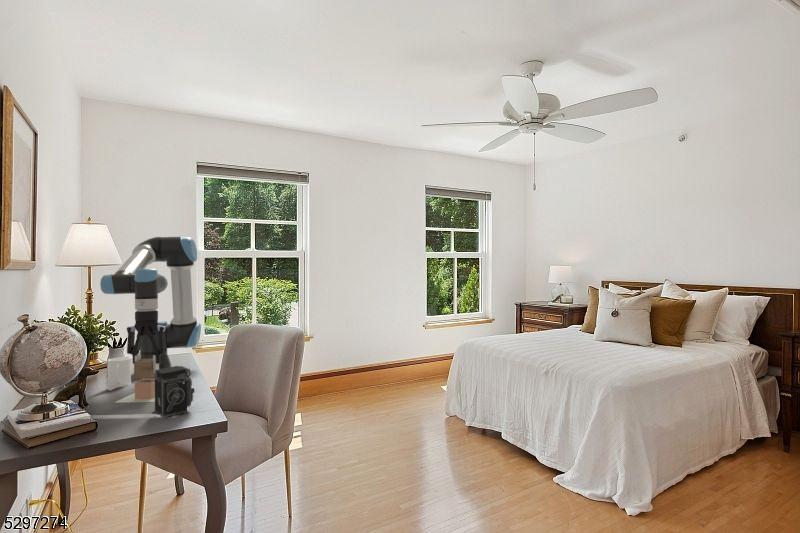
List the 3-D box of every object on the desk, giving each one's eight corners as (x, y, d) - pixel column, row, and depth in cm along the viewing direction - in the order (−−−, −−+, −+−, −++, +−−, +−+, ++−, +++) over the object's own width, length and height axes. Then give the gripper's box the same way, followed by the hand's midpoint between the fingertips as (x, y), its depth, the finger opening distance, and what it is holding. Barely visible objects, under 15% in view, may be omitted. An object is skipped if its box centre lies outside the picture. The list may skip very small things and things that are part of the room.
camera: (197, 412, 154) (196, 368, 154) (163, 420, 146) (162, 373, 146) (185, 406, 161) (185, 363, 161) (153, 413, 154) (152, 368, 154)
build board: (136, 395, 176) (136, 391, 176) (178, 394, 177) (177, 391, 177) (114, 405, 162) (114, 402, 162) (159, 405, 163) (159, 401, 163)
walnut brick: (143, 374, 172) (143, 358, 172) (159, 374, 172) (159, 358, 172) (134, 378, 166) (134, 361, 166) (150, 378, 166) (150, 361, 166)
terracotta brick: (143, 394, 172) (143, 378, 172) (159, 394, 172) (159, 378, 173) (134, 399, 166) (134, 382, 166) (151, 398, 166) (151, 382, 167)
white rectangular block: (127, 391, 182) (127, 361, 182) (102, 393, 179) (102, 363, 179) (133, 384, 193) (133, 356, 193) (110, 386, 190) (109, 357, 190)
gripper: (114, 311, 166) (115, 375, 166) (167, 310, 166) (167, 374, 166) (126, 309, 173) (127, 370, 173) (177, 309, 173) (177, 369, 173)
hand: (147, 372), depth 169 cm, fingers closed on walnut brick, 6 cm apart
